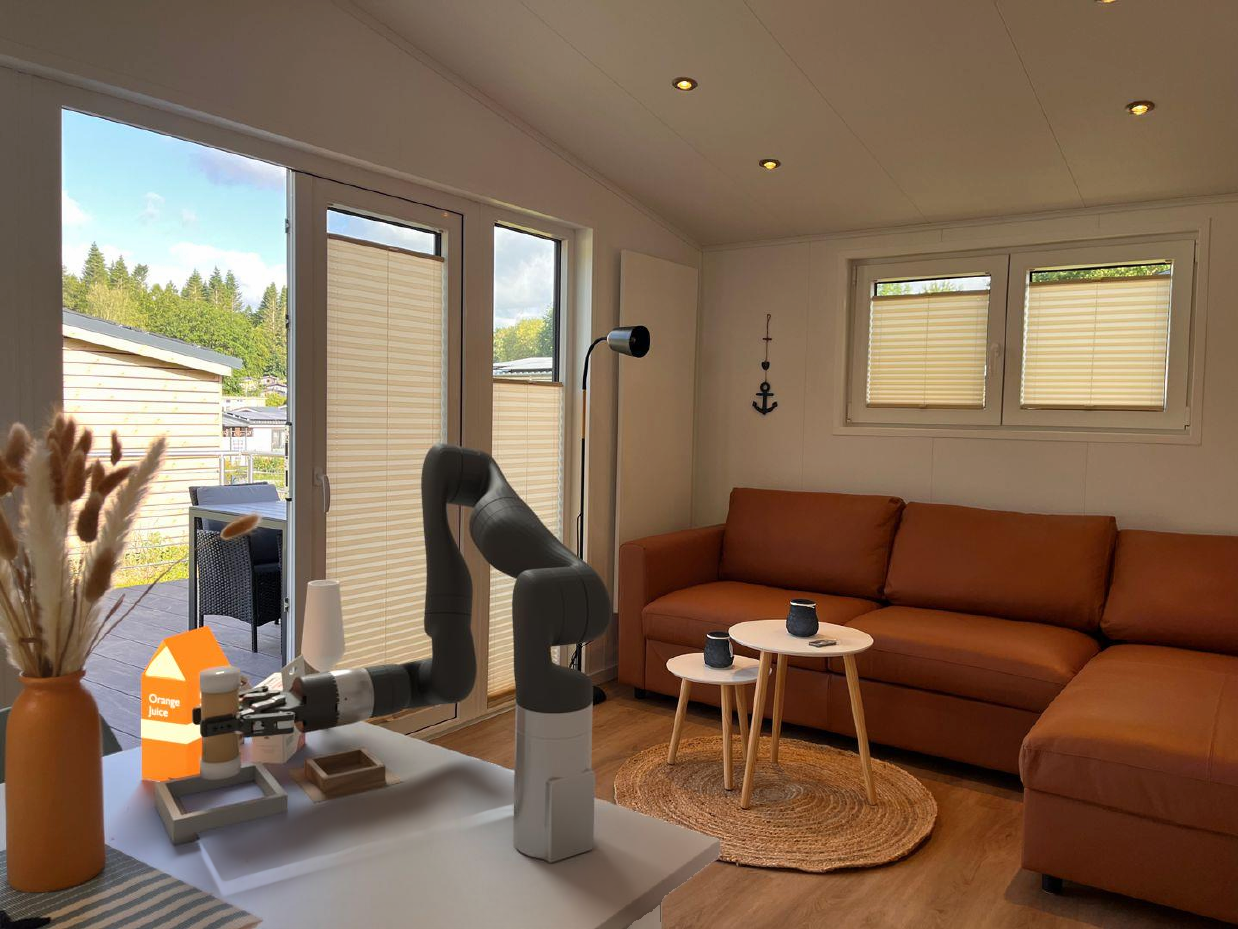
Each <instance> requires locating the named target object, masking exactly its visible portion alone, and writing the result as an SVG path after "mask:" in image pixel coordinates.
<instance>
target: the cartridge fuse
mask: <svg viewBox="0 0 1238 929" xmlns="http://www.w3.org/2000/svg"><path fill="white" fill-rule="evenodd" d="M241 672H242V670H241V668H240V667H237V666H232V665H231V666H219V667H212V668H208V669H205V670H202V671H201V672H200V673H199V690H200V691H201V720H202V719H203V718H208V717H214V716H220V715H226V714H233V717H234V714H235V713H237V712H239V687H240V686H241V675H242V674H241ZM241 765H242V753H241V751H240V745H239V734H235V733H234V731H233V732H232V733H226V734H221V735H215V736H210V737H202V736H201V757H200V776H201V777H202V778H204V779H210V780H217V779H224V778H228V777H231V776H234V775H236V774H238V773H239V772H240V771H241Z"/></svg>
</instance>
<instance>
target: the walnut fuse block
mask: <svg viewBox="0 0 1238 929" xmlns="http://www.w3.org/2000/svg"><path fill="white" fill-rule="evenodd" d="M287 773H288V774H289V775H290V776H291V778H293V780H294V781H295V782H296V783H297V785H298V786H299V787H300V788H301V789H302V790H303V792H304V793H305V794H306V795H307V796H308V797H309V799H310V800H311V802H313V803H314V804H315V803H320V802H324V801H325V802H326V801H328V800H332V799H333V800H334V799H337V798H341V797H344V796H349V795H350V796H351V795H354V794H358V793H363V792H367V791H371V790H376V789H380V788H385V787H388V786H393V785H396V784H401V783H404V781H403V780H402V779H401V778H399V777H398V775H396V774H395V773H394V772H393V771H391V769H389V767H387V766H386V765H385V764H384V763H383V762H382V761H381V760H380V759H378V758H377V757H376V756H375V755H374V754H373V753H371V752H370V751H369V750H368V749H367V748H366V747H365V746H361V747H356V748H350V749H346V750H342V751H336V752H332V753H331V752H330V753H327V754H321V755H317V756H312V757H308V758H307V757H306V758H304V767H303V768H302V767H301V768H297V769H292V770H288V771H287Z"/></svg>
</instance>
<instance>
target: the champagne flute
mask: <svg viewBox="0 0 1238 929" xmlns="http://www.w3.org/2000/svg"><path fill="white" fill-rule="evenodd" d="M341 597H342V596H341V587H340V581H339V580H334V579H319V580H312V581H309V582H307V589H306V600H305V609H304V616H303V617H304V618H303V627H302V628H303V630H302V637H301V647H300V648H301V649H300V653H301V654H302V655H303V658H304V662H306V663H307V664H308V665H309V666H310V667H312V668H313V669H314V670H315V671H317V672H318V673H321V672H328V671H331V670H332V669H333V667H335V665H337V664H338V663H339V662H340V661H341V659H342V658H343V657H344V654H345V652H346V642H345V631H344V621H343V609H342V599H341ZM301 654H300V655H301Z"/></svg>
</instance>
